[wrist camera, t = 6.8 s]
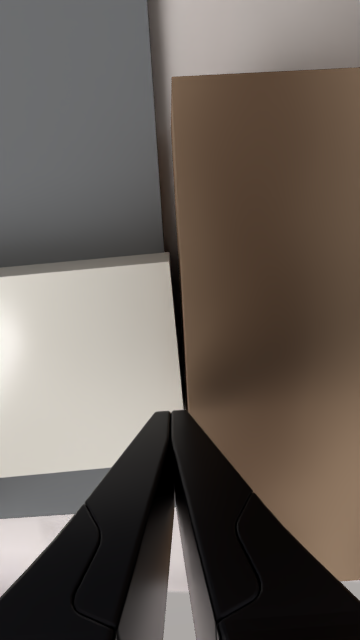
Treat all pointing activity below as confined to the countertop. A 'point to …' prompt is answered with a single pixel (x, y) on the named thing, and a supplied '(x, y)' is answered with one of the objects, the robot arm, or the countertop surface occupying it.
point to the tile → (84, 360)
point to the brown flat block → (275, 289)
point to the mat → (74, 164)
